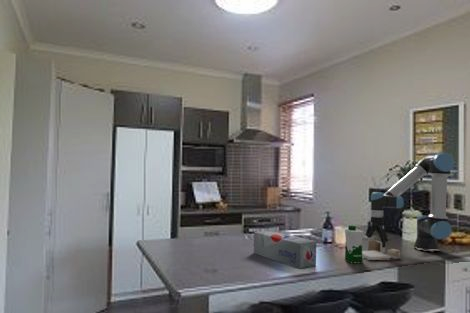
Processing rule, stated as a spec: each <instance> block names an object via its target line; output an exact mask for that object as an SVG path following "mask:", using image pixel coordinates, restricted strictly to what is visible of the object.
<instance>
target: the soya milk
mask: <svg viewBox="0 0 470 313" xmlns="http://www.w3.org/2000/svg"><path fill="white" fill-rule="evenodd" d="M344 232H345V233H344V235H345V249H344V250H345V253H344V261H345V260H347V261H346V262H348V261H349V262H348V263H350V262H352V263H354V262H363V258H362V251H363V237H364V232H365V231H364V230H361V229H357V227H356V225H348V228H347V229H346V228H345V229H344ZM352 263H351V264H352ZM363 263H364V262H363ZM354 264H355V263H354Z"/></svg>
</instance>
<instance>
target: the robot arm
mask: <svg viewBox="0 0 470 313" xmlns="http://www.w3.org/2000/svg"><path fill="white" fill-rule="evenodd" d="M454 167H455V159H454V158H453V157H452V156H451V154H449V153H446V152H436V153H435V152H434V153H429V154H426V155H425V156H424V157H423V158H421V159H420V160H419V161H418V162H417V163H415V165H414V168H413V169H411V170H410V171H409V172H408V173H407V174H406V175H404V176H402V178H401V179H399V180H398V181H397V182H396V183H395V184H394V185H393V186H392V187H391V188H389V189H388V190H387V191H385V192H377V191H373V192H372V193H371V196H370V222H368V226H367V230H366V232H365V236H366V237H367V243H368V242H369V241H373V235H374V233H375V232H376V233H377V235H378V236H379V238H380V242H381V248H380V252H381V253H385V252H386V243H388V242H389V239H388V235H387V231H386V226H385V225H382V224H383V223H384V208H388V209H402V208H403V207H404V198H403V196H401V195H402V194H405V192H406V191H407V190H409V188H411V187H412V186H413V185H414V184H416V182H418V181H420V179H421V178H422V177H424V176H428V175H430V176H431V189H430V190H431V191H430V192H431V193H430V213H429V214H428V215H417V217H416V238H415V242H414V244H413V248H414V247H417V248H423V249H439V250H440V247H439V242H438V240H444V239H445V240H446V239H447V238H448V237H450V236H451V234H452V231H453V230H452V229H453V228H452V226H451V224H450V223H449V217H448V216H447V198H448V197H447V196H448V195H447V193H448V190H447V189H448V177H450V175H451V171H452V170H453V168H454ZM385 254H386V253H385Z"/></svg>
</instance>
